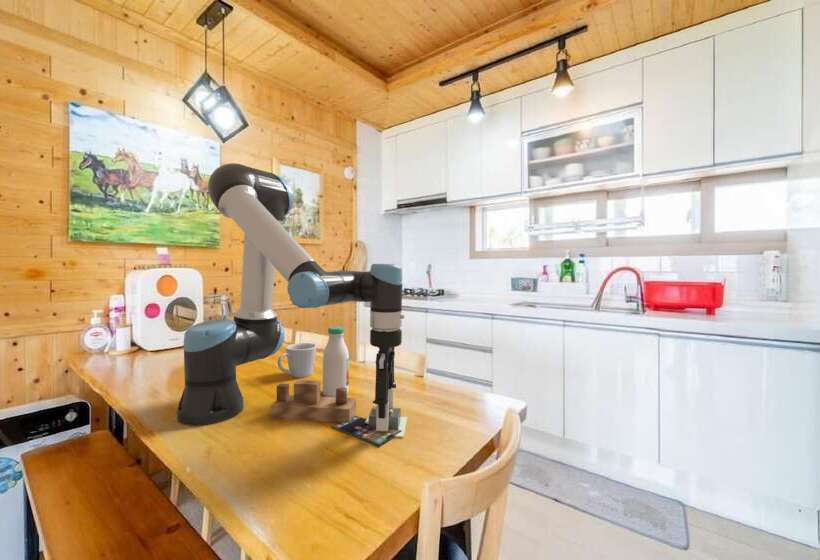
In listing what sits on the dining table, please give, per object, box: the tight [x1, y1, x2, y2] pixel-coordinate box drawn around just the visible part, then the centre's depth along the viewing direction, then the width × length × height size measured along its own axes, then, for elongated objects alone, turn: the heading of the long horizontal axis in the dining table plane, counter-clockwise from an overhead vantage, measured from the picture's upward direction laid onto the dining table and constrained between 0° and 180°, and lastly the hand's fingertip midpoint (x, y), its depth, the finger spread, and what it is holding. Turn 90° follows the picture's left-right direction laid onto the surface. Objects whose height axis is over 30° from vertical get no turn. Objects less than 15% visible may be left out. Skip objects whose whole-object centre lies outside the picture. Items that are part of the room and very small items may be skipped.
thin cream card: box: [366, 414, 408, 439], centre depth 86 cm, size 10×10×1 cm
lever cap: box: [368, 405, 402, 430], centre depth 86 cm, size 7×5×4 cm
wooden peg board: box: [270, 379, 357, 423], centre depth 92 cm, size 20×7×8 cm, turn 85°
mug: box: [277, 342, 318, 379], centre depth 122 cm, size 10×15×10 cm
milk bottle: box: [322, 325, 350, 397], centre depth 107 cm, size 8×8×20 cm
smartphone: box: [331, 414, 401, 448], centre depth 84 cm, size 8×15×1 cm, turn 55°
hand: (385, 421), depth 86 cm, fingers open, 8 cm apart
